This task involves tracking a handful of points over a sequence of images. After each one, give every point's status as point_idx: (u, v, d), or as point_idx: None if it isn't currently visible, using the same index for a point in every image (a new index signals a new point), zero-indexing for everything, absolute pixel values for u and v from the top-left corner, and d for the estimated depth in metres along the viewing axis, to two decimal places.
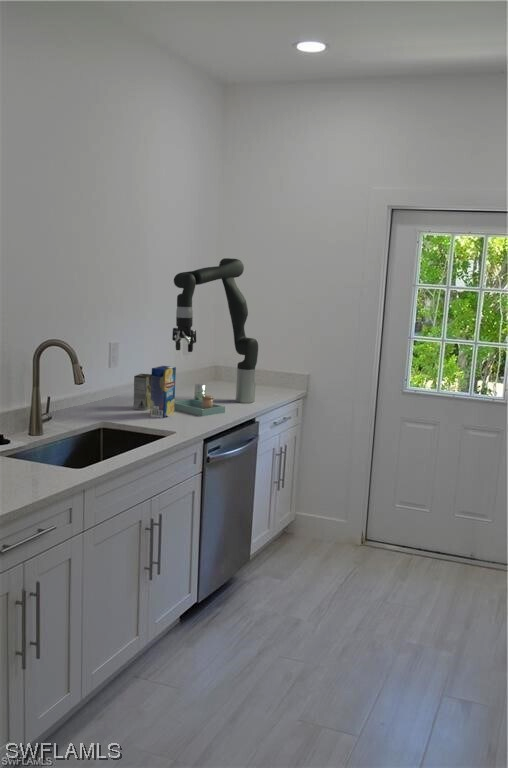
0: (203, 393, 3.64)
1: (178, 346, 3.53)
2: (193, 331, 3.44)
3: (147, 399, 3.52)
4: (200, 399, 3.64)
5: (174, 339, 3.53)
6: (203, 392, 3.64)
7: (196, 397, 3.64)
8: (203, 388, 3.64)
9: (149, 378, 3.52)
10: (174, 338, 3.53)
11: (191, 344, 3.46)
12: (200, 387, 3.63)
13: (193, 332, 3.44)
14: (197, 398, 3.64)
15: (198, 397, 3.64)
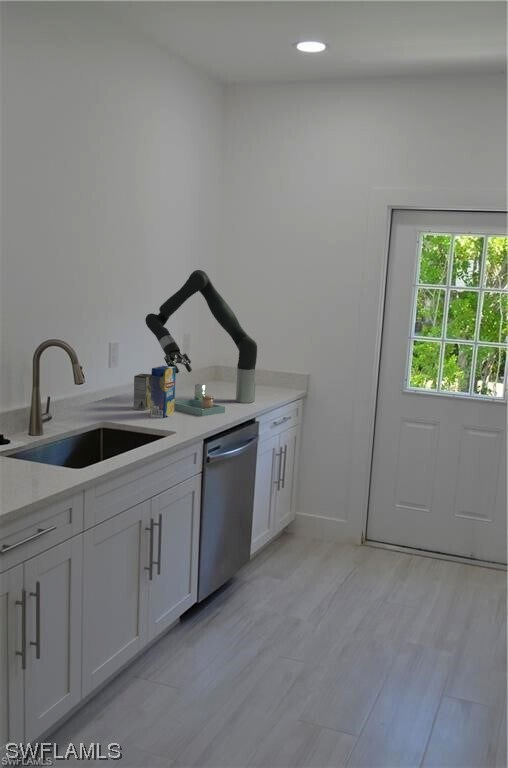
0: (203, 393, 3.64)
1: (188, 368, 3.75)
2: (165, 357, 3.70)
3: (147, 399, 3.52)
4: (200, 399, 3.64)
5: None
6: (203, 392, 3.64)
7: (196, 397, 3.64)
8: (203, 388, 3.64)
9: (149, 378, 3.52)
10: None
11: None
12: (200, 387, 3.63)
13: (165, 358, 3.70)
14: (197, 398, 3.64)
15: (198, 397, 3.64)
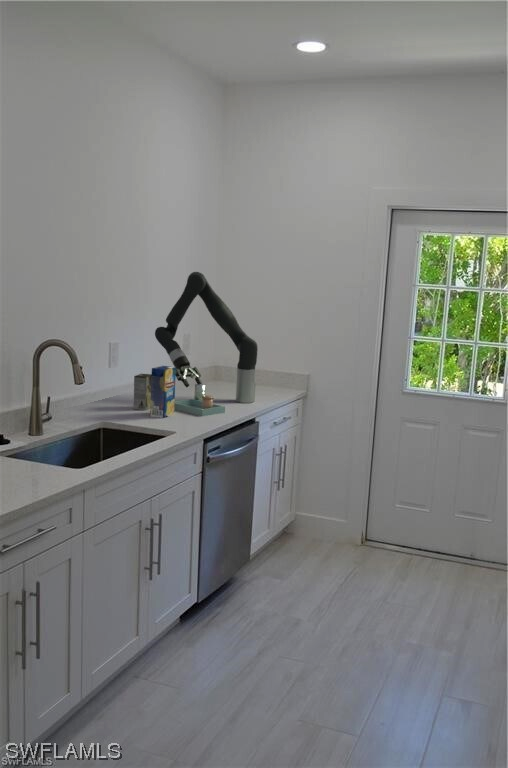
0: (203, 393, 3.64)
1: (198, 381, 3.72)
2: None
3: (147, 399, 3.52)
4: (200, 399, 3.64)
5: None
6: (203, 392, 3.64)
7: (196, 397, 3.64)
8: (203, 388, 3.64)
9: (149, 378, 3.52)
10: None
11: (182, 380, 3.66)
12: (200, 387, 3.63)
13: None
14: (197, 398, 3.64)
15: (198, 397, 3.64)
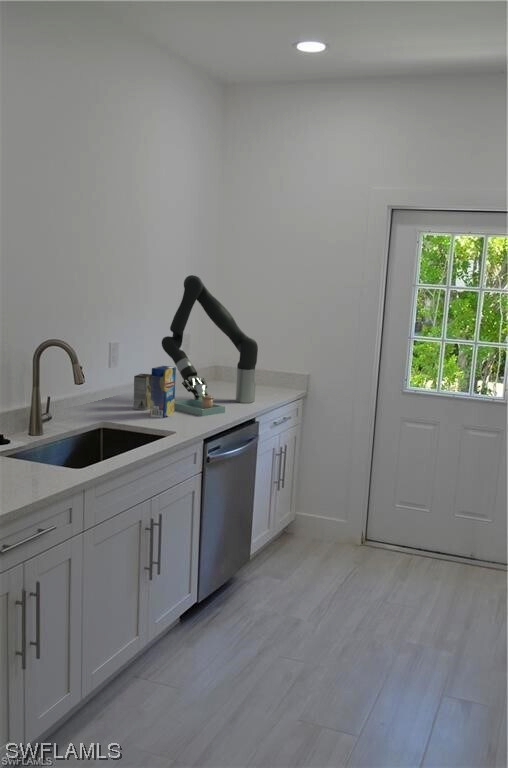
0: (203, 393, 3.64)
1: None
2: (183, 382, 3.64)
3: (147, 399, 3.52)
4: (200, 399, 3.64)
5: None
6: (203, 392, 3.64)
7: None
8: (203, 388, 3.64)
9: (149, 378, 3.52)
10: None
11: (193, 392, 3.64)
12: (200, 387, 3.63)
13: (184, 383, 3.63)
14: (197, 398, 3.64)
15: None
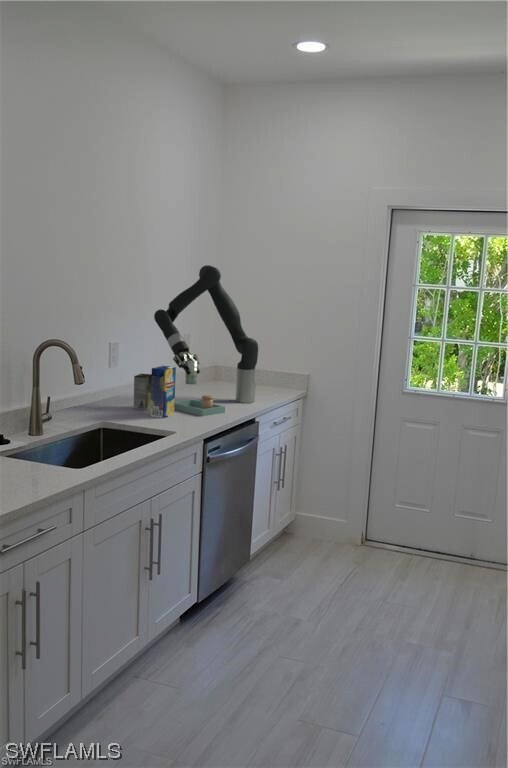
0: (195, 369, 3.52)
1: None
2: (174, 358, 3.51)
3: (147, 399, 3.52)
4: (191, 375, 3.52)
5: None
6: (195, 368, 3.52)
7: None
8: (195, 364, 3.51)
9: (149, 378, 3.52)
10: None
11: (184, 368, 3.51)
12: (192, 363, 3.51)
13: (175, 359, 3.51)
14: None
15: (190, 374, 3.51)
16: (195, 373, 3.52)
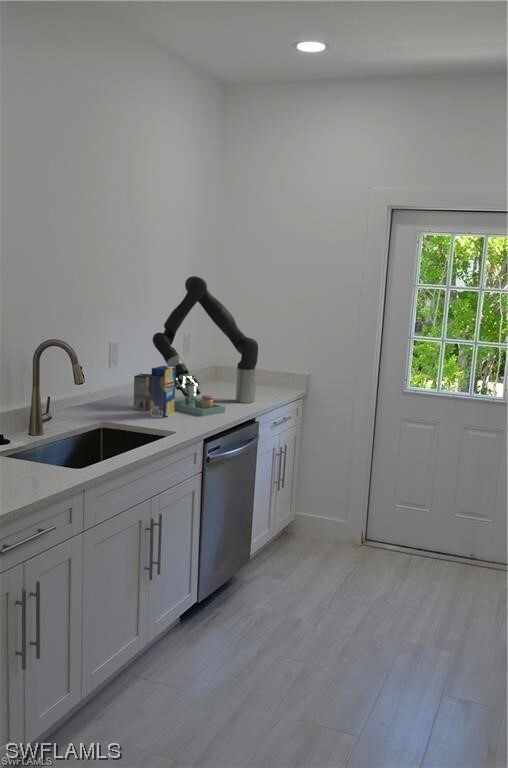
0: (194, 395, 3.54)
1: (197, 390, 3.58)
2: None
3: (147, 399, 3.52)
4: (191, 401, 3.53)
5: None
6: (194, 394, 3.54)
7: (187, 399, 3.54)
8: (194, 389, 3.53)
9: (149, 378, 3.52)
10: None
11: (181, 389, 3.52)
12: (191, 388, 3.53)
13: None
14: (188, 400, 3.54)
15: (189, 399, 3.53)
16: (194, 398, 3.54)
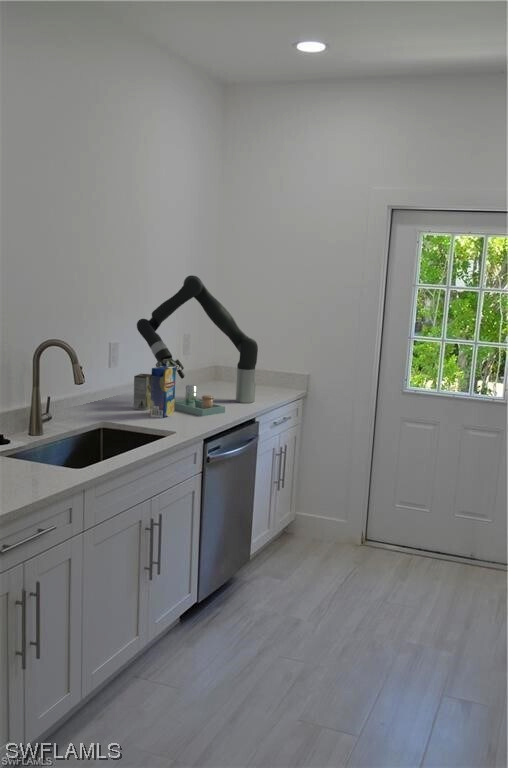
0: (194, 395, 3.54)
1: (180, 374, 3.67)
2: (156, 364, 3.62)
3: (147, 399, 3.52)
4: (191, 401, 3.53)
5: None
6: (194, 394, 3.54)
7: (187, 399, 3.54)
8: (194, 390, 3.53)
9: (149, 378, 3.52)
10: None
11: None
12: (191, 388, 3.52)
13: (157, 365, 3.61)
14: (188, 400, 3.53)
15: (189, 399, 3.53)
16: (194, 398, 3.54)
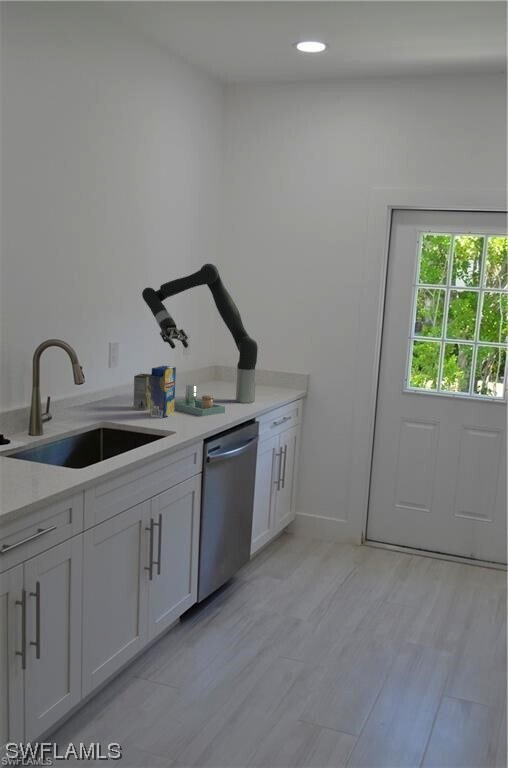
0: (194, 395, 3.54)
1: (184, 343, 3.67)
2: (160, 332, 3.62)
3: (147, 399, 3.52)
4: (191, 401, 3.53)
5: None
6: (194, 394, 3.54)
7: (187, 399, 3.54)
8: (194, 390, 3.53)
9: (149, 378, 3.52)
10: None
11: (169, 342, 3.61)
12: (191, 388, 3.52)
13: (161, 333, 3.62)
14: (188, 400, 3.53)
15: (189, 399, 3.53)
16: (194, 398, 3.54)
